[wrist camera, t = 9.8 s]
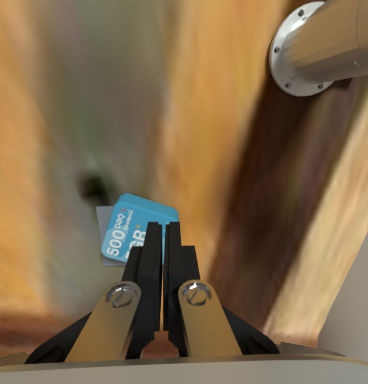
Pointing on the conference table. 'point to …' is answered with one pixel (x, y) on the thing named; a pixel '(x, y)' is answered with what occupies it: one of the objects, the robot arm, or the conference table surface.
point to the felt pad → (103, 222)
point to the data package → (133, 224)
